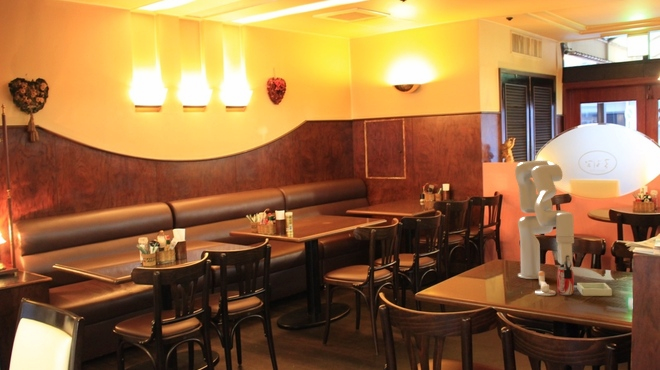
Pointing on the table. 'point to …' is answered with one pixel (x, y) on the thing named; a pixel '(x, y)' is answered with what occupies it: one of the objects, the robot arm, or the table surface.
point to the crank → (543, 282)
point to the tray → (594, 289)
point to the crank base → (544, 293)
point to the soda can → (564, 283)
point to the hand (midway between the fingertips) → (565, 276)
